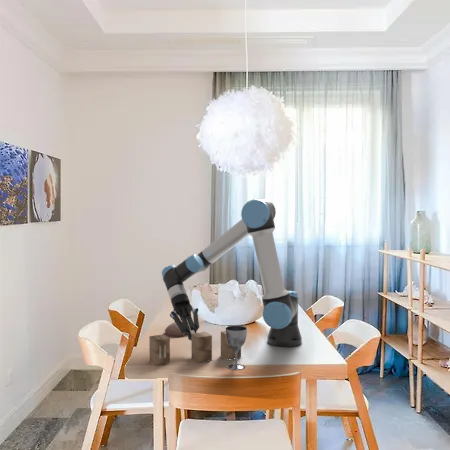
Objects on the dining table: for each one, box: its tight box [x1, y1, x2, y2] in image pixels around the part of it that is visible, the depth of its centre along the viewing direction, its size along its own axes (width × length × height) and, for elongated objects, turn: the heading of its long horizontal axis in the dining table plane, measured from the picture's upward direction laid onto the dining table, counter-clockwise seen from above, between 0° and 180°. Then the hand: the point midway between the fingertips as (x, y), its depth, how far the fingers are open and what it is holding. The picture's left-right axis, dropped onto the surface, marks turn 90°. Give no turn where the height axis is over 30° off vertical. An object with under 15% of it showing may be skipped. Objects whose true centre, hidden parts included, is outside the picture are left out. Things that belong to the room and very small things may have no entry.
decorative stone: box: [164, 321, 188, 338], centre depth 225 cm, size 12×12×6 cm
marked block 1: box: [148, 333, 171, 367], centre depth 185 cm, size 6×6×10 cm
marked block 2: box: [220, 330, 242, 361], centre depth 192 cm, size 6×6×10 cm
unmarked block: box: [190, 331, 213, 364], centre depth 189 cm, size 6×6×10 cm
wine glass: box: [225, 324, 248, 371], centre depth 180 cm, size 8×8×15 cm
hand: (196, 345), depth 193 cm, fingers closed
